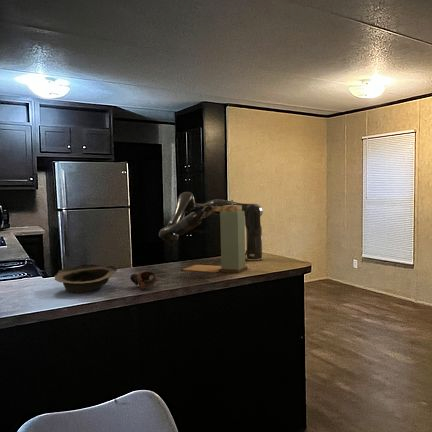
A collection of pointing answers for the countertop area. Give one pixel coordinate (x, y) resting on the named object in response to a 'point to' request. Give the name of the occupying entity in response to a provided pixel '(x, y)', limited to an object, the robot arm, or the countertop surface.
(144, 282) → the pottery mug
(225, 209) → the tan bread loaf
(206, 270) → the mat
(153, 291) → the countertop surface
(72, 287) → the stone bowl
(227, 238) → the stand
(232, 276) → the countertop surface
